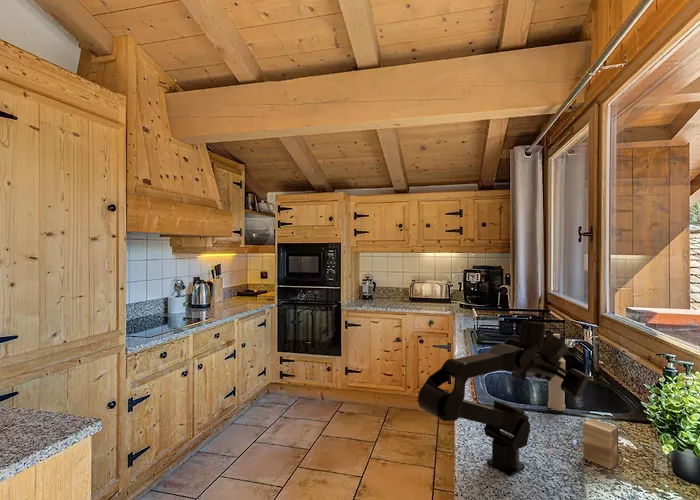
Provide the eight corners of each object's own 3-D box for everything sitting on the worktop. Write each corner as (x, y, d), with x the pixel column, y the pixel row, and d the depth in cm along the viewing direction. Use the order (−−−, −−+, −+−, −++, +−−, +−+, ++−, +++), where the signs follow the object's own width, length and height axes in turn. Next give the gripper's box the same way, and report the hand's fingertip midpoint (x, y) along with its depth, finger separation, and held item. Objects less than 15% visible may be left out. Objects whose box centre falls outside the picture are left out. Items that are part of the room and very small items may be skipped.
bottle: (544, 406, 125) (544, 333, 126) (555, 404, 127) (555, 332, 127) (557, 413, 121) (557, 336, 121) (569, 410, 122) (569, 335, 122)
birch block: (610, 469, 90) (610, 432, 90) (583, 457, 95) (583, 422, 95) (618, 463, 92) (618, 427, 92) (591, 452, 97) (591, 418, 97)
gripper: (581, 354, 88) (613, 364, 95) (518, 320, 104) (550, 331, 111) (560, 395, 89) (594, 402, 96) (501, 355, 105) (533, 364, 113)
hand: (566, 372), depth 104 cm, fingers open, 9 cm apart
